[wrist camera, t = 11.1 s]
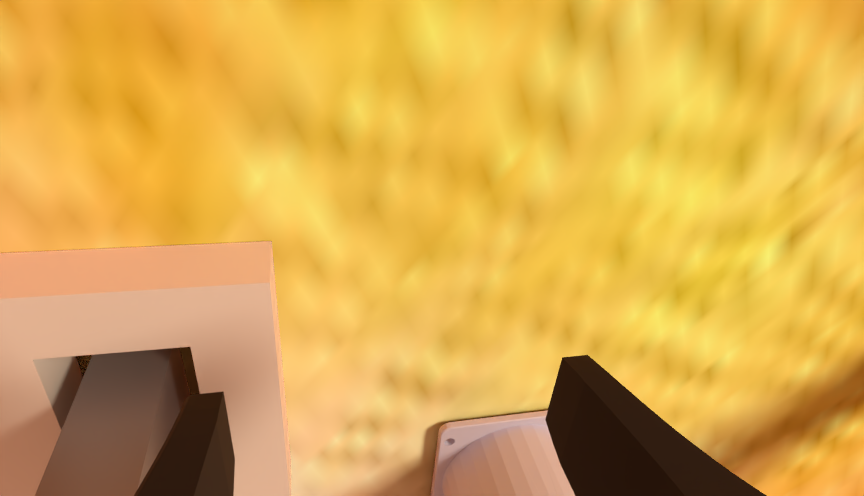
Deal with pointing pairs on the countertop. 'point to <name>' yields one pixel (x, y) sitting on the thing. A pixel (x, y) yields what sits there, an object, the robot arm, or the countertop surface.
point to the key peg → (116, 424)
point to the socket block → (142, 344)
